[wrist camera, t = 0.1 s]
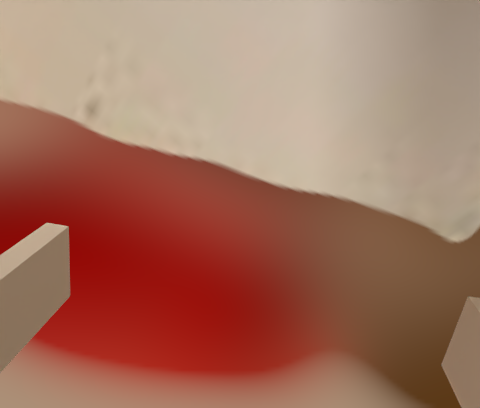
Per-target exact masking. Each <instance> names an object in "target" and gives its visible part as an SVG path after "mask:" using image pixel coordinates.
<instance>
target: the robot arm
mask: <svg viewBox="0 0 480 408" xmlns="http://www.w3.org/2000/svg"><path fill="white" fill-rule="evenodd" d="M69 297H70V268H69V227H68V226H62V225H57V224H51V223H46V224H44V225H43V226H42V227H40V228H39V229H37V230H36V231H34V232H33V233H31V234H30V235H29V236H27V237H26V238H24V239H23V240H21V241H20V242H19V243H17V244H16V245H14V246H13V247H12V248H10V249H9V250H7V251H6V252H4V253H3V254H2V255H0V372H1V371H2V370H3V369H4V368H5V367H6V366H7V365H8V364H9V363H10V362H11V360H12V359H13V358H14V357H15V356H16V355H17V354H18V353H19V352H20V351H21V349H22V348H23V347H24V346H25V345H26V344H27V343H28V342H29V341H30V340H31V338H32V337H33V336H34V335H35V334H36V333H37V332H38V331H39V330H40V329H41V327H42V326H43V325H44V324H45V323H46V322H47V321H48V320H49V318H50V317H51V316H52V315H53V314H54V313H55V312H56V311H57V310H58V309H59V308H60V306H61V305H62V304H63V303H64V302H65V301H66V300H67V299H68V298H69ZM441 365H442V368H443V370H444V371H445V374H446V376H447V378H448V380H449V382H450V385H451V387H452V389H453V391H454V393H455V395H456V397H457V399H458V401H459V404H460V406H461V408H480V298H475V297H470V296H469V297H468V298H467V300H466V303H465V306H464V308H463V310H462V313H461V315H460V318H459V321H458V323H457V326H456V328H455V331H454V334H453V336H452V339H451V341H450V344H449V346H448V349H447V351H446V355H445V357H444V359H443V362H442V364H441Z"/></svg>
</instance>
